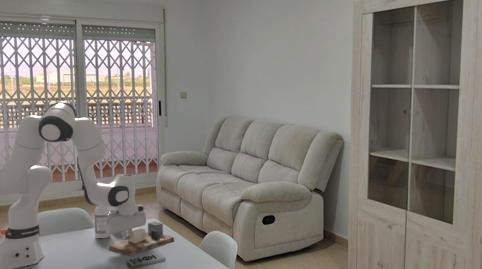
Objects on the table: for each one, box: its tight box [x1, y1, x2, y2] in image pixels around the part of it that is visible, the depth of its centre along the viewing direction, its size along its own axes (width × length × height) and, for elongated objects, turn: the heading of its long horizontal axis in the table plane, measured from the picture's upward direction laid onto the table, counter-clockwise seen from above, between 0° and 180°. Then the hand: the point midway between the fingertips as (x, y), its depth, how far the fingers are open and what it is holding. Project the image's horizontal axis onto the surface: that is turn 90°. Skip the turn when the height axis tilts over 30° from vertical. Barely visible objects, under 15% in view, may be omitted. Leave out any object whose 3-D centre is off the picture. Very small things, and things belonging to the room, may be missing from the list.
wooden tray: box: [108, 233, 175, 257], centre depth 212 cm, size 26×14×2 cm, turn 141°
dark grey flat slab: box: [151, 230, 160, 240], centre depth 214 cm, size 1×5×4 cm, turn 51°
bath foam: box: [93, 205, 111, 239], centre depth 224 cm, size 7×7×20 cm
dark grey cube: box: [147, 221, 164, 236], centre depth 222 cm, size 4×6×6 cm, turn 51°
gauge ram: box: [126, 227, 148, 243], centre depth 213 cm, size 8×8×5 cm
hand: (126, 239), depth 209 cm, fingers closed
